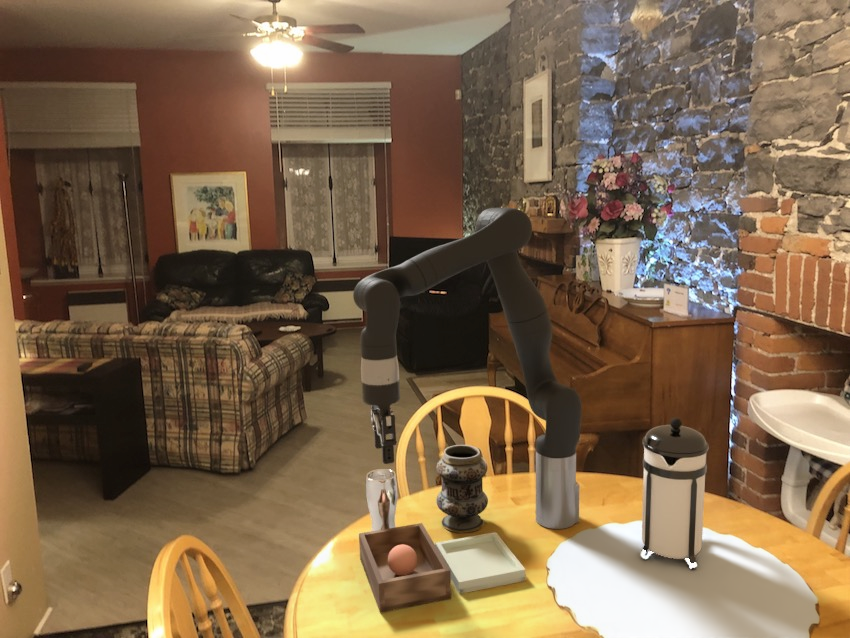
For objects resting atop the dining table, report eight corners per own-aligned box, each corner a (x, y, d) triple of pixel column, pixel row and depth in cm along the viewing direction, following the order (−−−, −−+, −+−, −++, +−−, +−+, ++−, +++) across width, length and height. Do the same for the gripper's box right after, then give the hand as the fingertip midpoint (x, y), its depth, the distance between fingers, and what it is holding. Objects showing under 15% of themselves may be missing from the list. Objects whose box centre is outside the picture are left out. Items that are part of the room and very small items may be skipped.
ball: (413, 563, 145) (412, 536, 144) (421, 578, 139) (420, 551, 138) (385, 568, 143) (384, 541, 142) (392, 584, 138) (390, 556, 136)
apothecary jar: (497, 529, 160) (496, 455, 157) (449, 540, 156) (447, 464, 152) (474, 507, 171) (473, 438, 168) (429, 517, 167) (427, 446, 163)
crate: (422, 548, 153) (422, 523, 152) (451, 598, 134) (450, 570, 133) (360, 559, 149) (358, 533, 148) (380, 612, 130) (378, 583, 129)
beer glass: (395, 545, 154) (392, 482, 152) (365, 542, 156) (361, 480, 153) (402, 530, 161) (399, 469, 158) (373, 528, 163) (370, 467, 160)
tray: (495, 542, 154) (495, 532, 154) (525, 580, 139) (525, 569, 139) (435, 553, 150) (435, 542, 150) (459, 593, 135) (458, 582, 135)
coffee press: (728, 564, 143) (736, 425, 137) (659, 577, 139) (664, 434, 133) (678, 525, 159) (683, 399, 153) (615, 536, 155) (618, 407, 150)
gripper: (406, 385, 132) (410, 465, 135) (391, 367, 145) (395, 440, 149) (367, 390, 130) (372, 471, 133) (356, 371, 144) (360, 445, 147)
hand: (384, 455), depth 141 cm, fingers open, 8 cm apart
